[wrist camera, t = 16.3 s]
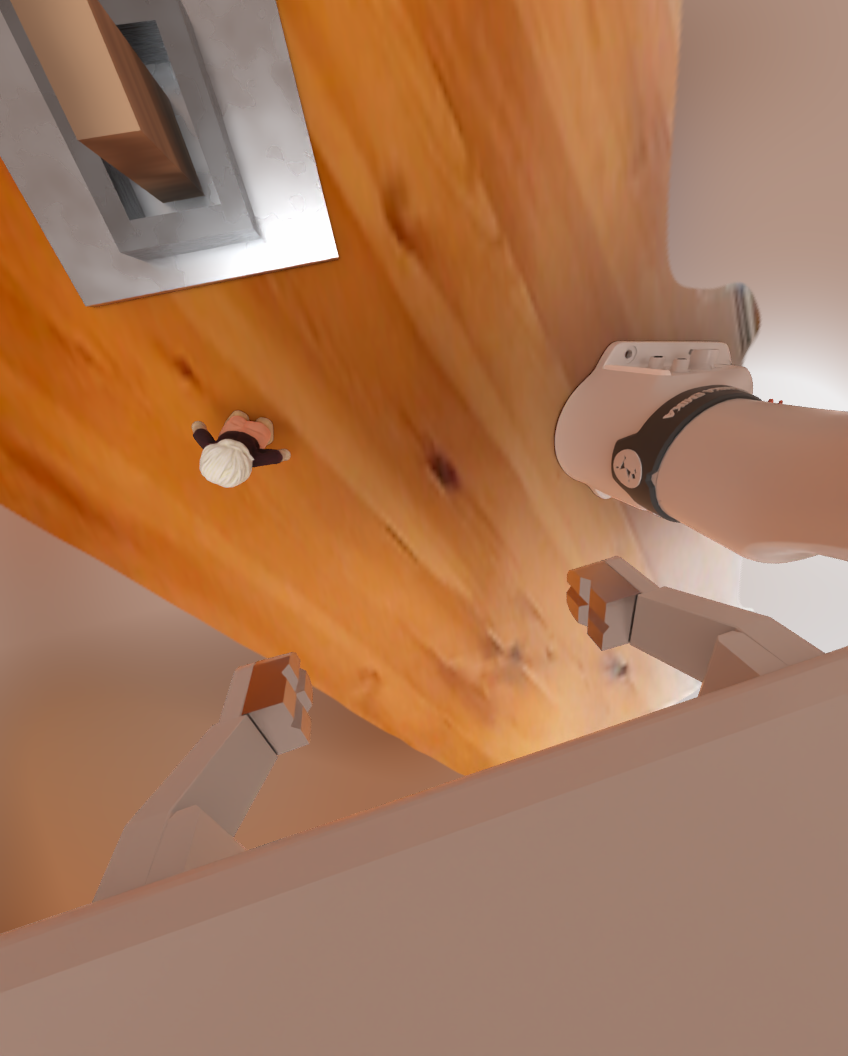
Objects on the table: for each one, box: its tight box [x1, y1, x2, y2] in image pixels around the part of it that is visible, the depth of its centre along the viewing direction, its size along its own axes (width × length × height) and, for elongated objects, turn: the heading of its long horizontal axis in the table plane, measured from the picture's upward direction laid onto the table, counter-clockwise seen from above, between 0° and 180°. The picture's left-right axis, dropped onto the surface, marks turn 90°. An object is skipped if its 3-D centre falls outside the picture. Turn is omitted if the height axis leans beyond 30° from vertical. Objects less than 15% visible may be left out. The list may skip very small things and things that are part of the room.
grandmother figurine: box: [192, 410, 291, 488], centre depth 30 cm, size 8×4×13 cm, turn 79°
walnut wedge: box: [10, 0, 205, 203], centre depth 21 cm, size 3×5×10 cm, turn 10°
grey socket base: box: [0, 0, 338, 307], centre depth 24 cm, size 20×15×5 cm
